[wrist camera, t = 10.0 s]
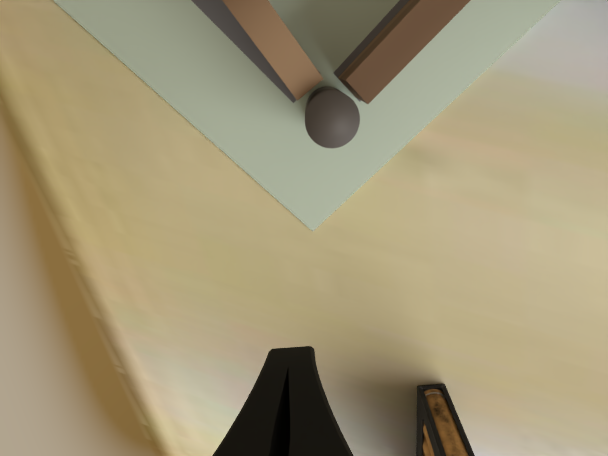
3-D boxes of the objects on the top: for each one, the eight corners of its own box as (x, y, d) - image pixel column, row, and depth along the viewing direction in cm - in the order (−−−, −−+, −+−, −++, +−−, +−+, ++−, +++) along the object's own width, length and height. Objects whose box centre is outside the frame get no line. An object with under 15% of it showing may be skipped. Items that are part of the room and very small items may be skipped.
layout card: (559, -1, 15) (563, -2, 15) (312, 229, 20) (312, 231, 19) (295, -411, 11) (295, -421, 11) (56, 1, 15) (52, 0, 15)
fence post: (499, -39, 15) (573, -82, 11) (326, 138, 18) (331, 159, 14) (470, -82, 14) (537, -144, 10) (296, 109, 17) (293, 121, 13)
